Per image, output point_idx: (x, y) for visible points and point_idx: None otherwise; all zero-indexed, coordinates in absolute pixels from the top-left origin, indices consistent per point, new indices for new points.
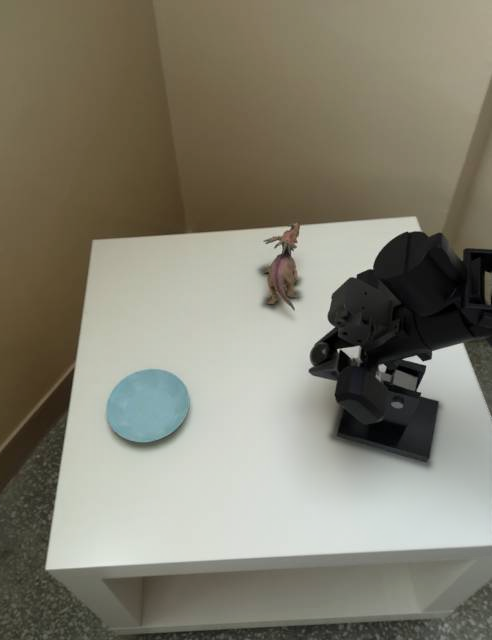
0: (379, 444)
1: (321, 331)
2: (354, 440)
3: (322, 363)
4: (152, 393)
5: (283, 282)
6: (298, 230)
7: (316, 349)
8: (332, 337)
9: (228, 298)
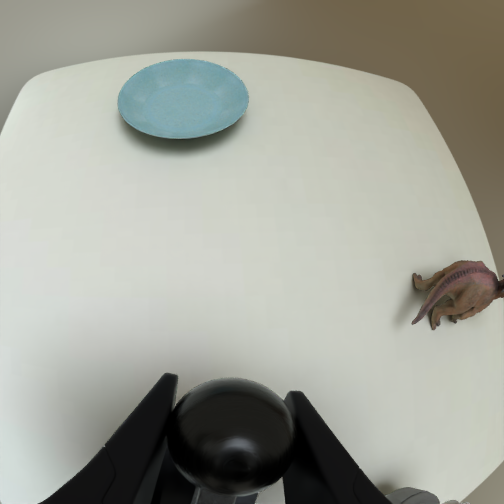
0: None
1: (376, 384)
2: None
3: (153, 439)
4: (211, 106)
5: (458, 289)
6: None
7: (238, 412)
8: (316, 475)
9: (406, 212)
